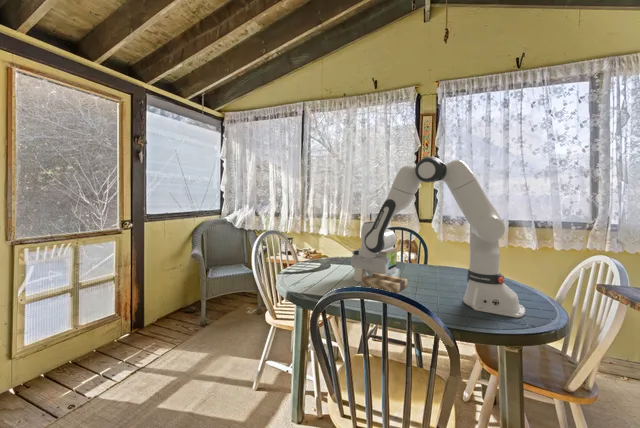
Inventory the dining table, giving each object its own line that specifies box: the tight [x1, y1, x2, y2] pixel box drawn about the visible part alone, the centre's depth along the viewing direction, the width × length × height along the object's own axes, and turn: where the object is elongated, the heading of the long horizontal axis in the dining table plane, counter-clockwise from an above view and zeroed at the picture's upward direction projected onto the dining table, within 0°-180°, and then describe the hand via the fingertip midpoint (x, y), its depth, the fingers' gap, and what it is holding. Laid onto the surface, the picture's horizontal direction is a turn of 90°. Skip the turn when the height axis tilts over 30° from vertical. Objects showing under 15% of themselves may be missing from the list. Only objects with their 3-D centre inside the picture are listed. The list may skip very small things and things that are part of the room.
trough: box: [361, 272, 408, 294], centre depth 150 cm, size 19×12×4 cm, turn 51°
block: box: [353, 267, 366, 283], centre depth 158 cm, size 4×4×7 cm
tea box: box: [368, 246, 398, 276], centre depth 171 cm, size 15×10×15 cm
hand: (368, 278), depth 155 cm, fingers closed
